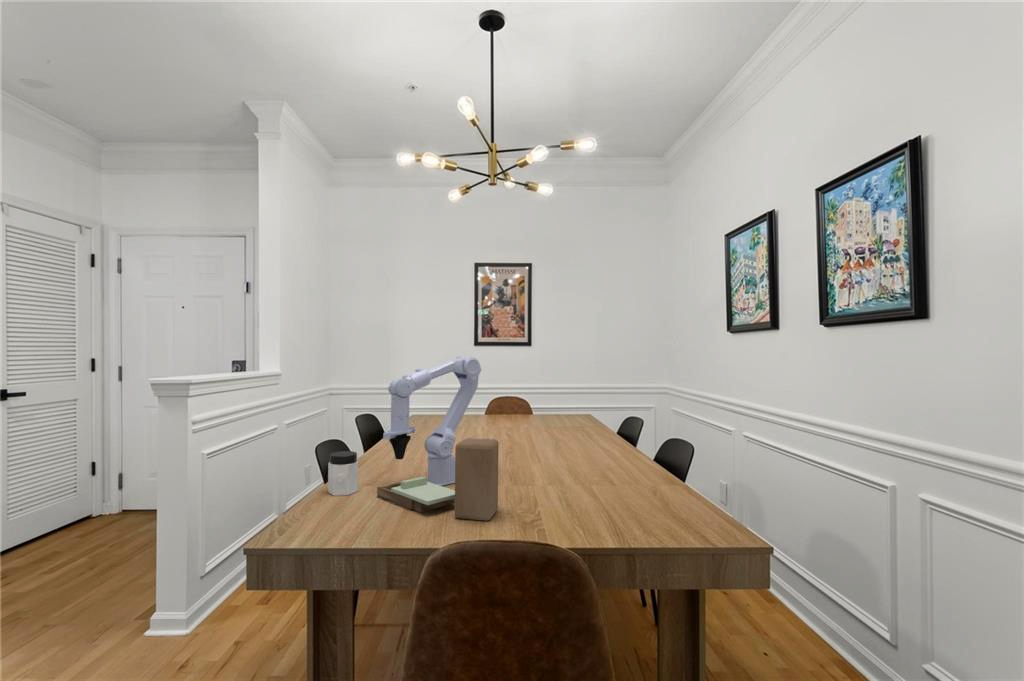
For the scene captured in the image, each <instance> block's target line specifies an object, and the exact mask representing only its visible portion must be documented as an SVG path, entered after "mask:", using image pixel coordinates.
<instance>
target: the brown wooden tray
mask: <svg viewBox="0 0 1024 681" xmlns="http://www.w3.org/2000/svg"><path fill="white" fill-rule="evenodd" d="M398 486H401V481H400V482H395V483H389V484H387V485H382V486H381V485H380V486H377V488H376V489H377V491H376V492H377V493H376V494H377V495H376V496H377V498H379V499H381V500H384V501H386V502H389V503H390V504H391V503H392V505H396V506H398V507H401V508H404V509H406V510H409V511H416V512H418V513H423V512H427V511H430V510H431V511H432V510H435V509H438V508H442V507H446V506H447V507H448V506H449V505H453V504H454V505H455V498H454V499H450V500H446V501H442V502H438V503H434V504H430V505H426V504H423V503H420V502H418V501H415V500H412V499H410V498H407V497H404V496H402V495H399V494H396V493H394V492H391V488H394V487H398ZM453 490H455V488H454V489H453Z"/></svg>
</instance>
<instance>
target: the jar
mask: <svg viewBox="0 0 1024 681" xmlns="http://www.w3.org/2000/svg"><path fill="white" fill-rule="evenodd" d="M327 468H328V469H327V470H328V471H327V472H328V473H327V484H328V485H327V493H329V494H330V495H332V496H335V497H336V496H339V497H340V496H349V495H352V494H354V493H355V494H356V493H357V492H358V491H359V490H358V489H359V488H358V487H359V485H358V484H359V482H358V481H359V461H358V453H357V452H356V451H353V450H352V451H351V450H348V451H347V450H343V451H342V450H341V451H335V452H332V453H330V454H329V462H328V467H327Z"/></svg>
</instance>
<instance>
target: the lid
mask: <svg viewBox="0 0 1024 681" xmlns="http://www.w3.org/2000/svg"><path fill="white" fill-rule="evenodd" d="M427 480H428V477H426V476H420V477H415V478H410V479H405V480H401V481H400V482H401V486H398V487H394V488H391V492H394V493H396V494H399V495H402V496H404V497H407V498H410V499H412V500H415V501H418V502H420V503H423V504H426V505H430V504H434V503H438V502H442V501H446V500H450V499H454V498H455V490H454V489H452V488H448V487H446V486H444V485H443V486H439V485H436V484H433V483H430V482H427Z"/></svg>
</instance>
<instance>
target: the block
mask: <svg viewBox="0 0 1024 681" xmlns="http://www.w3.org/2000/svg"><path fill="white" fill-rule="evenodd" d="M454 454H455V455H454V457H455V483H454V489H455V503H454V516H455V517H454V518H456V519H461V520H471V521H472V520H476V521H485V522H486V521H491V519H492V518H493V516H494V515H495V514H496V513H497V511H498V508H499V441H498V440H497V439H495V438H494V439H493V438H492V439H490V438H489V439H488V438H474V437H472V438H471V437H470V438H469V437H468V438H464V439H462V440H461V441H458V443H456V444H455V453H454Z"/></svg>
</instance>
